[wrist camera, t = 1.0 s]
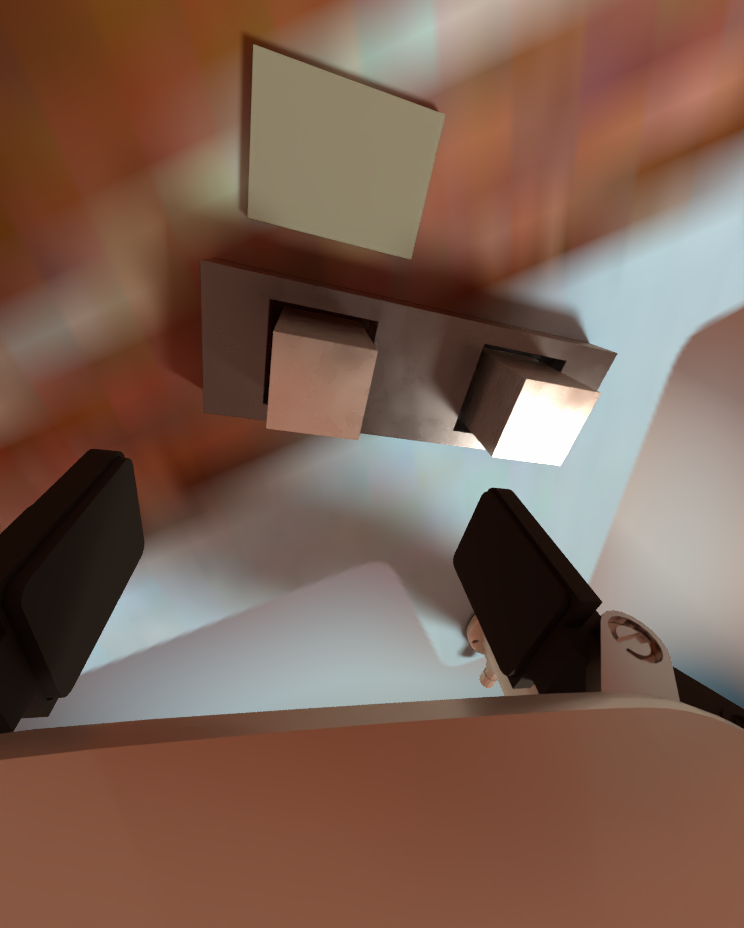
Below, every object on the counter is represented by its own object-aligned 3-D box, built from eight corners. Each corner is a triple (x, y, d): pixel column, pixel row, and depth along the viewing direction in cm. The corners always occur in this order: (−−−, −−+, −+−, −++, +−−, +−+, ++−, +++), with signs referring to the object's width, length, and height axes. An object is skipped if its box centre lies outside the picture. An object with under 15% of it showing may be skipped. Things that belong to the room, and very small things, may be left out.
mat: (408, 259, 23) (411, 259, 23) (249, 218, 21) (247, 217, 20) (441, 117, 20) (445, 114, 19) (254, 49, 17) (253, 44, 17)
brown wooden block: (505, 416, 31) (560, 465, 24) (450, 408, 29) (492, 456, 23) (531, 357, 28) (600, 393, 21) (472, 345, 27) (526, 378, 20)
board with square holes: (539, 442, 33) (559, 459, 30) (214, 396, 26) (203, 412, 24) (590, 343, 28) (617, 353, 26) (213, 258, 22) (200, 259, 19)
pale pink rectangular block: (346, 391, 27) (358, 440, 21) (277, 380, 26) (266, 428, 19) (359, 321, 25) (378, 350, 18) (284, 306, 24) (273, 331, 17)
